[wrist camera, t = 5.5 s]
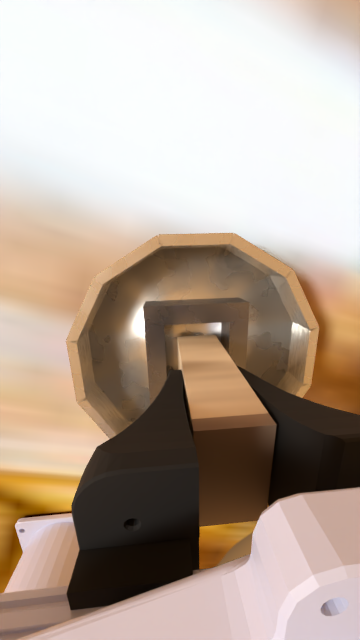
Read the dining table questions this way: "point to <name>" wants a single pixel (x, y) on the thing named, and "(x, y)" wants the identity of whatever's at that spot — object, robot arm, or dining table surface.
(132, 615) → the robot arm
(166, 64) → the dining table surface
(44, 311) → the dining table surface
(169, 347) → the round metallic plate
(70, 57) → the dining table surface
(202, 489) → the wood wick
